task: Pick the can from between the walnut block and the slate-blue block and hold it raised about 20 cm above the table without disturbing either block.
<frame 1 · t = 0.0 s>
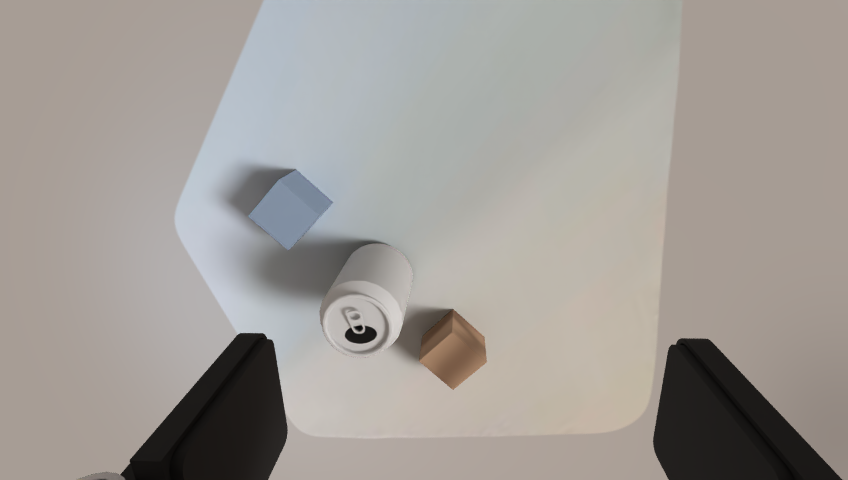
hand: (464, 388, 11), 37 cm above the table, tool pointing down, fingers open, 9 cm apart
walnut block: (453, 336, 53), on the table
can: (380, 271, 51), on the table
slate block: (300, 202, 49), on the table
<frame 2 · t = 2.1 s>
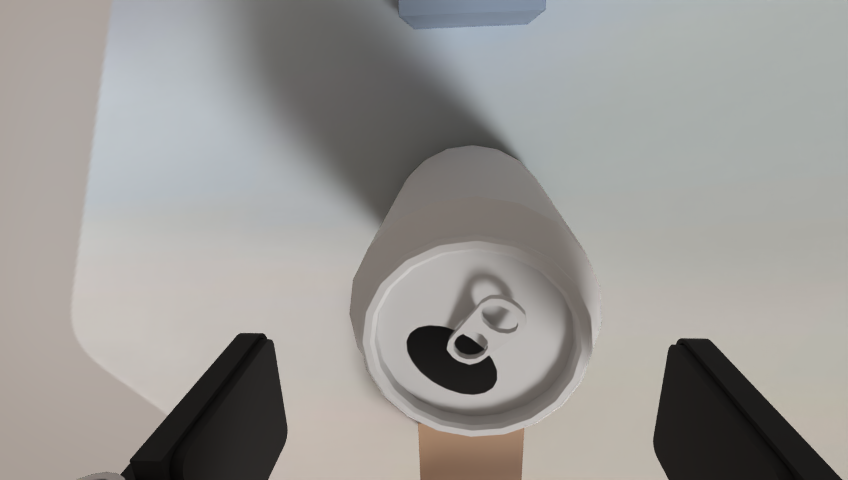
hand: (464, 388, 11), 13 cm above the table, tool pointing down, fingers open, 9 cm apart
walnut block: (469, 398, 27), on the table
can: (469, 215, 24), on the table
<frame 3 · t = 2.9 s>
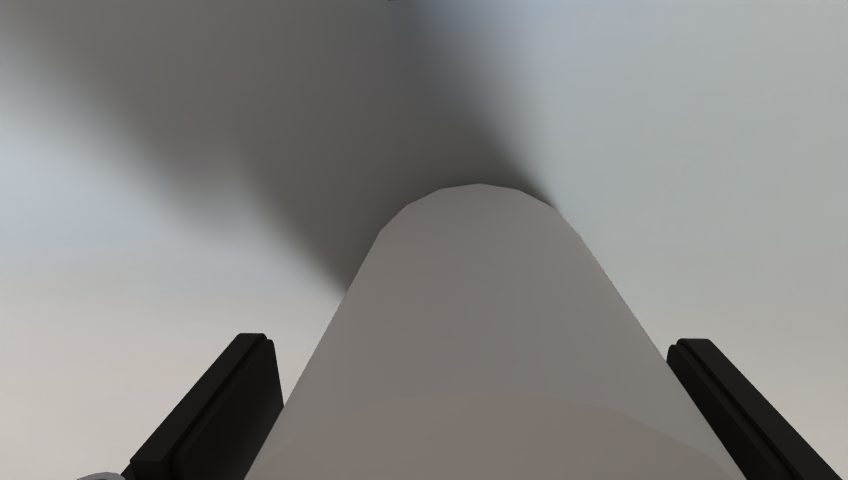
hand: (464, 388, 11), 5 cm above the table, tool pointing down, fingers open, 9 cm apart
can: (475, 282, 16), on the table
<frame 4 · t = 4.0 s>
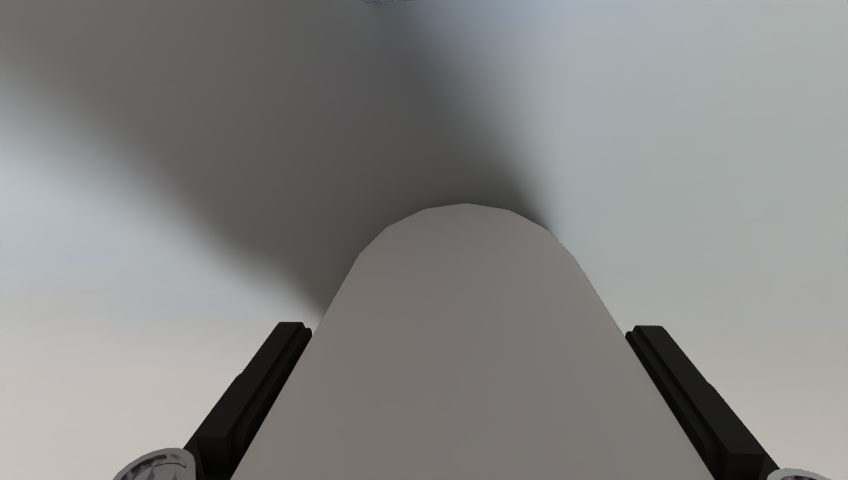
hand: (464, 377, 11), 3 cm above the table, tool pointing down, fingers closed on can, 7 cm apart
can: (463, 307, 15), on the table, touching gripper
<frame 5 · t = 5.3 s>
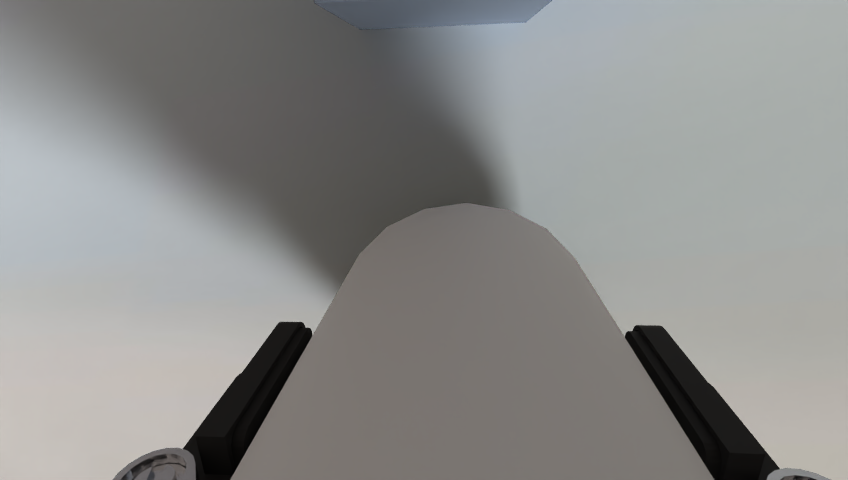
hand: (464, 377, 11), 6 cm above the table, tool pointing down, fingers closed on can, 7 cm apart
can: (463, 307, 15), point 2 cm above the table, touching gripper
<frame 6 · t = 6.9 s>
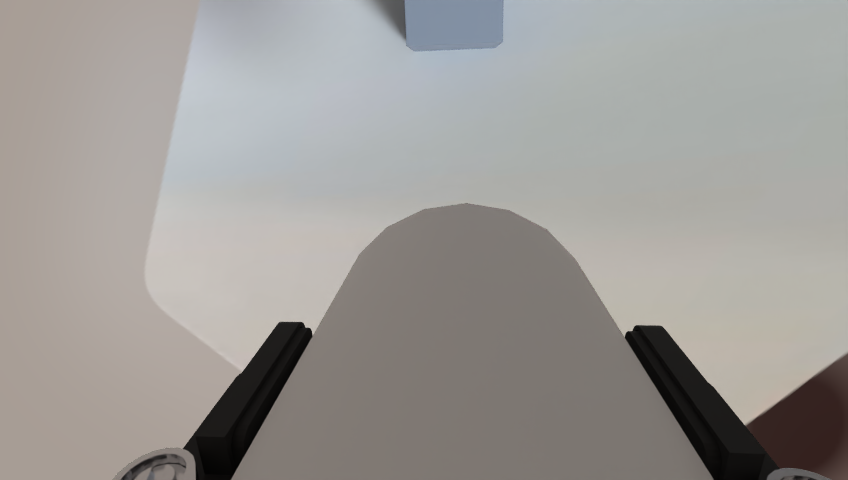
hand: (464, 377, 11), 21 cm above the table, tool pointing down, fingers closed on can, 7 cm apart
can: (463, 307, 15), point 18 cm above the table, touching gripper
slate block: (454, 5, 28), on the table
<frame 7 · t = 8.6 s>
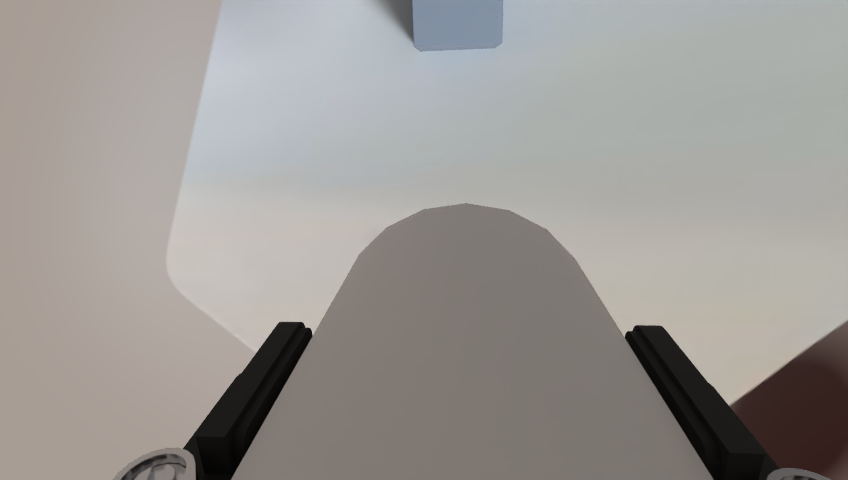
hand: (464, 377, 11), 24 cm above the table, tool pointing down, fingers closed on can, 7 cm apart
can: (463, 307, 15), point 20 cm above the table, touching gripper
slate block: (457, 8, 30), on the table
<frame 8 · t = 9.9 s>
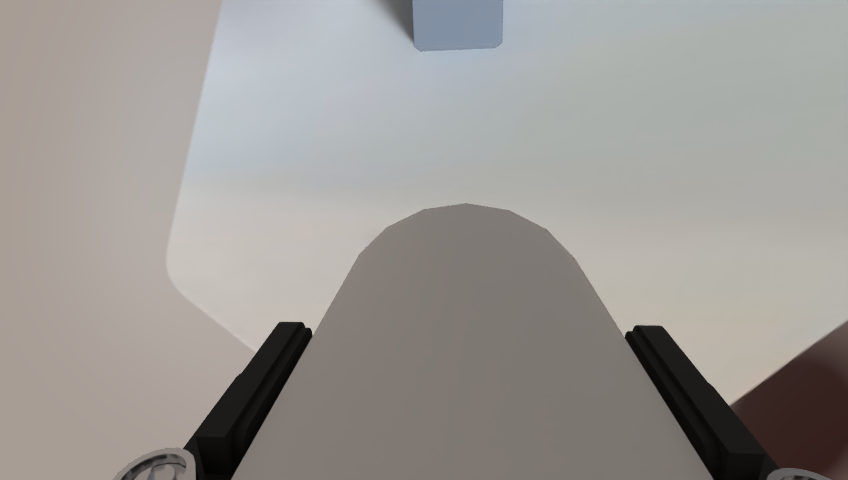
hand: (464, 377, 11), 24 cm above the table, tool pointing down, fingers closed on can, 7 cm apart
can: (463, 307, 15), point 20 cm above the table, touching gripper
slate block: (457, 8, 30), on the table
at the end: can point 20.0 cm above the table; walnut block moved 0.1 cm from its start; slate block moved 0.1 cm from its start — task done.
